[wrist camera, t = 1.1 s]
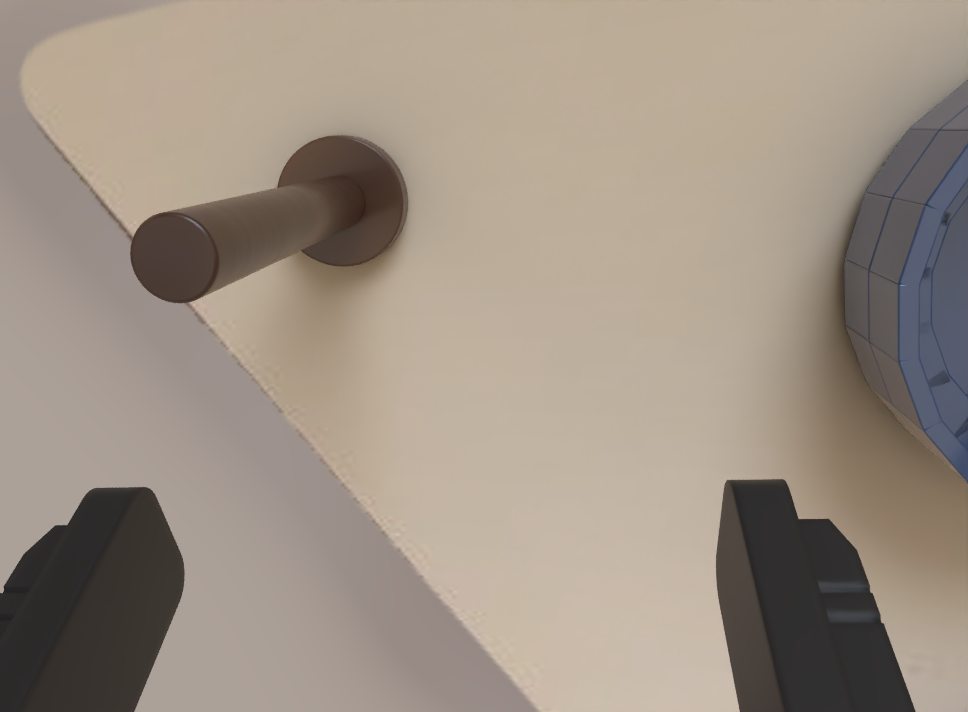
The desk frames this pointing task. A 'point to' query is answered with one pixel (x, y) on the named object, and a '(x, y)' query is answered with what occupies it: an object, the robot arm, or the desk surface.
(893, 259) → the bowl
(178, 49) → the desk surface
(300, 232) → the stick
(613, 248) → the desk surface
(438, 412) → the desk surface
